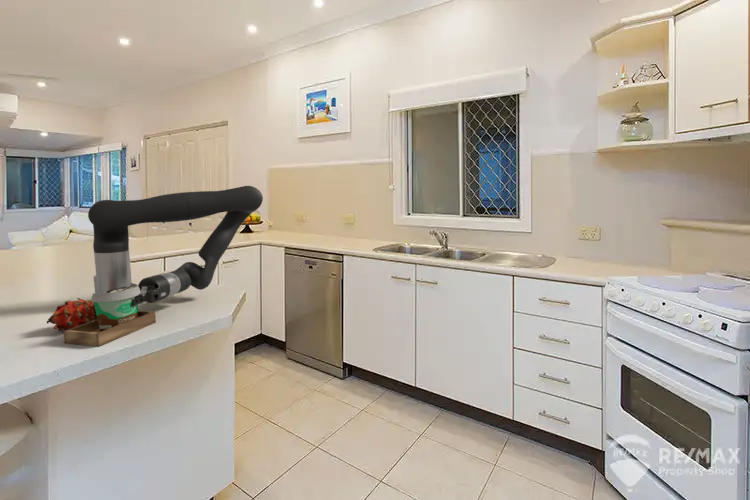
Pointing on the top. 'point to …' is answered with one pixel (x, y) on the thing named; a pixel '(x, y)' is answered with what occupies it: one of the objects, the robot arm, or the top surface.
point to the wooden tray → (95, 337)
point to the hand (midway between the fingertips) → (114, 301)
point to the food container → (115, 306)
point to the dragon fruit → (73, 314)
